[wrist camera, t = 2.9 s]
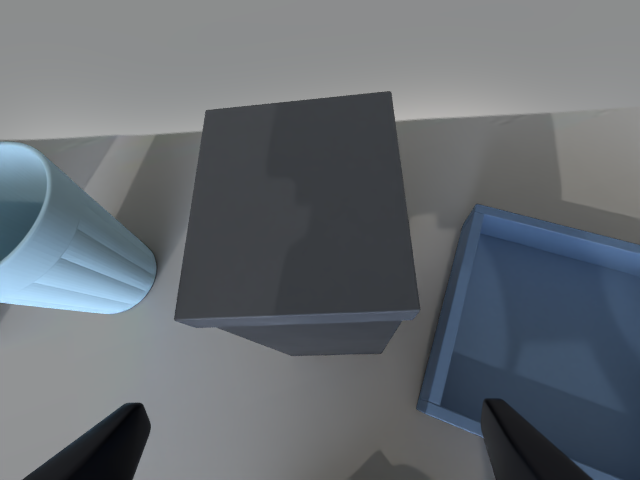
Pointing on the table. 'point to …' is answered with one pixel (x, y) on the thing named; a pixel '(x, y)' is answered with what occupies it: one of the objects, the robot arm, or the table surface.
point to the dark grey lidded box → (300, 227)
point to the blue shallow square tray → (543, 337)
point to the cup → (63, 242)
